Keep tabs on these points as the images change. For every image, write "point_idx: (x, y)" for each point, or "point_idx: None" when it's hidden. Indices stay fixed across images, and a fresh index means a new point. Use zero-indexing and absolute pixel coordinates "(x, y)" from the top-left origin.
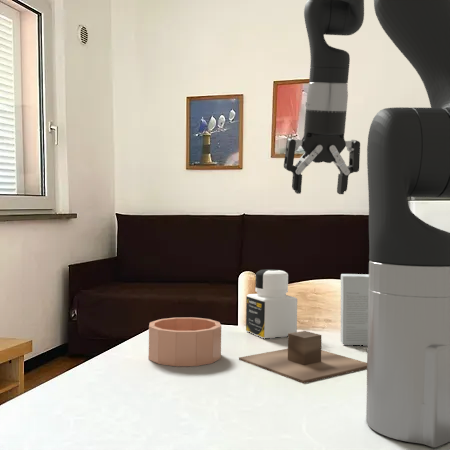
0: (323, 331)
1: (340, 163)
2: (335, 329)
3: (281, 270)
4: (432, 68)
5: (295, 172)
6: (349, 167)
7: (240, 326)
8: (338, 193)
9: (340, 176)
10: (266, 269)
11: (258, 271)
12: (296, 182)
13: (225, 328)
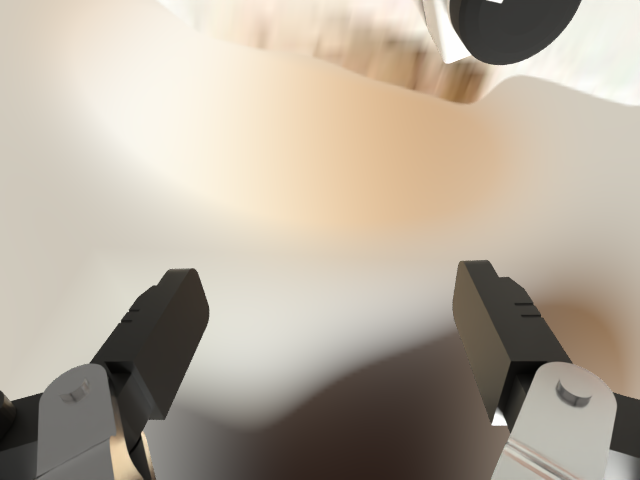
0: (325, 3)
1: (82, 468)
2: (291, 30)
3: (489, 5)
4: None
5: (594, 384)
6: (27, 443)
7: None
8: (203, 291)
9: (152, 377)
10: (537, 26)
11: (574, 5)
12: (523, 318)
13: None
